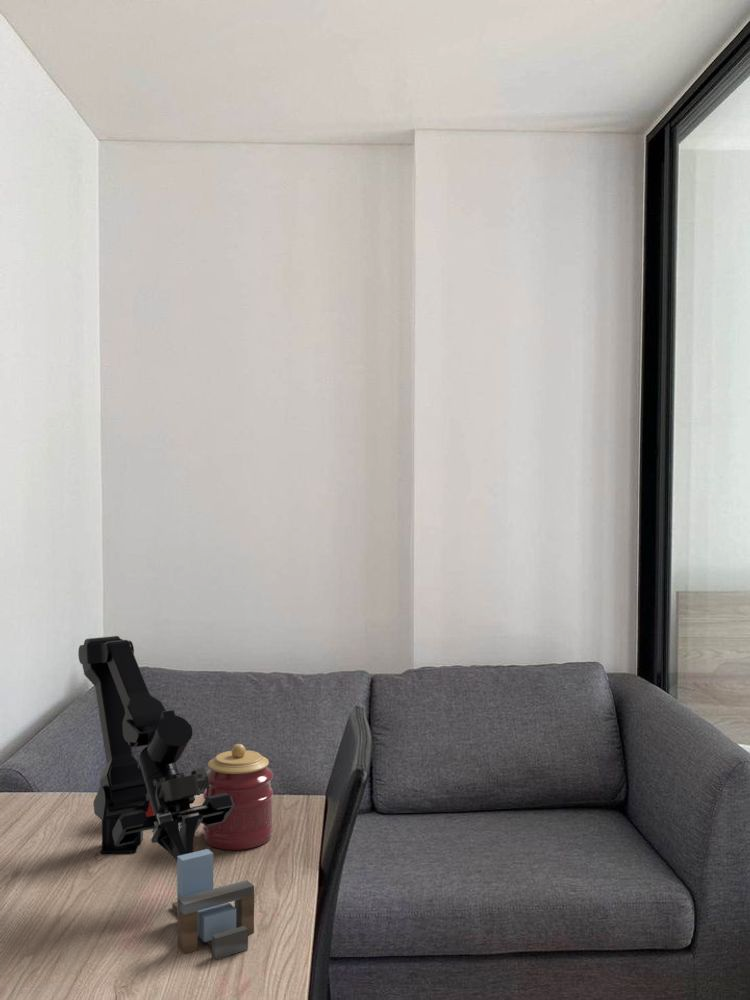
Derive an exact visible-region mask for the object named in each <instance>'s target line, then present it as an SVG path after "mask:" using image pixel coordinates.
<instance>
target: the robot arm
mask: <svg viewBox="0 0 750 1000" xmlns="http://www.w3.org/2000/svg"><path fill="white" fill-rule="evenodd" d="M134 648H135V647H134V644H133V641H132V640H128V639H123V638H121V637H120V636H118V635H113V636H102V637H93V638H86V639H85V640H84V642H83V644H82V645H81V644H80V645H79V647H78V653H77V654H78V661H79V663H80V664H81V665H82V669H83V675H84V676H85V677H86V678H87V679H88V680H89V681H90V683H91V684H92V685H94V689H95V694H96V700H97V709H98V715H99V720H100V727H101V734H102V739H103V748H104V754H105V762H106V765H105V767H104V769H103V771H102V774H101V776H100V778H99V785H100V787H99V789H98V791H97V793H96V796H95V798H94V800H93V812H94V815H95V816H97V817H98V818H99V820H101V846H100V849H99V854H117V853H118V854H119V853H121V854H122V853H124V854H125V853H127V854H128V853H136V852H137V850H138V849H139V847H140V845H142V842H143V840H144V831H149V830H151V833H152V837H151V838H150V842H151V843H152V844H156V843H157V844H158V845H160V847H162V848H163V849H164V850H165V851H166V852H168V853H169V854H170V855H171V856H172V858H173V859H174V860H175V861H176V862H177V856H180V855H184V854H188V853H193V852H194V843H195V842H194V841H195V840H194V839H195V834H196V831H197V830H198V829H199V827H200V825H201V824H202V825H206V826H210V825H215V824H219V823H222V822H224V821H225V820H226V819H227V817H228V816H229V814H230V813H231V811H232V810H233V808H234V806H235V805H234V802H233V799H232V797H231V796H230V795H229V794H227V793H222V794H217V795H212V796H207V798H206V799H205V801H203V803H202V805H198V806H192V807H191V804H194V802H195V801H196V798H195V796H200V795H201V790H206V788H208V787H209V778H208V775H207V770H206V768H205V767H201V768H197V769H194V770H192V771H191V774H190V775H186V774H184V773H183V772H180V769H179V765H178V763H177V762H178V761H179V760H180V759H181V757H182V756H183V753H184V752H185V750H186V749H187V747H188V744H189V742H190V741H191V739H192V736H193V727H192V725H191V724H190V723H189V722H188V721H187V720H186V719H185V718H184V717H181V716H179V715H176V713H175V710H174V709H171V710H170V709H169V710H167V709H166V708H165V706H164V704H163V703H162V701H161V700H159V699H157V698H155V697H154V696H152V694H151V693H150V691H149V688H148V686H147V683H146V681H145V679H144V677H143V674H142V672H141V669H140V666H139V664H138V660H137V659H136V657H135V653H134V652H135V649H134ZM144 746H145V747H144ZM137 747H144V748H143V749H142V750H141V752H140V754H139V756H138V760H137V759H136V758H135V757H134V755H133V751H132V749H133V748H137ZM185 775H186V776H185ZM149 801H150V803H151V806H152V810H153V813H154V815H153V816H149V817H147V816H146V813H145V812H148V807H149Z"/></svg>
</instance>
